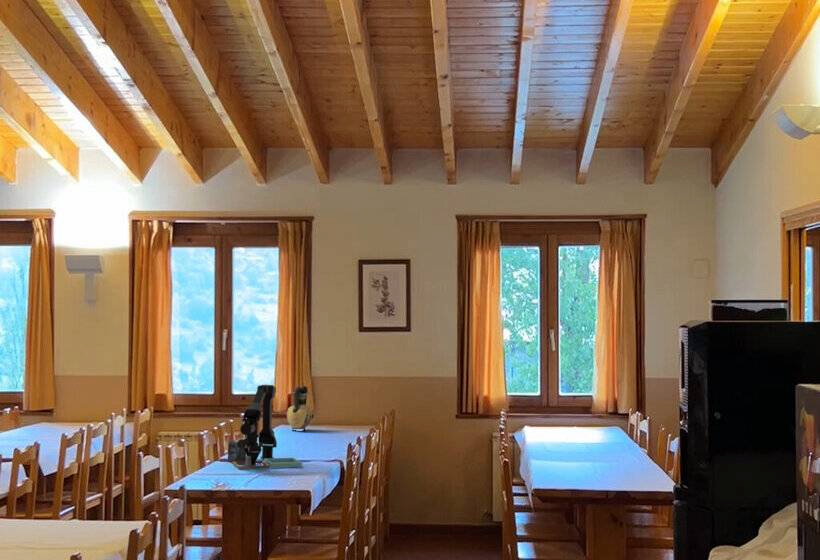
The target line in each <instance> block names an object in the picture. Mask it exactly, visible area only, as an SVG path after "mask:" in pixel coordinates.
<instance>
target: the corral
mask: <svg viewBox="0 0 820 560" xmlns="http://www.w3.org/2000/svg"><path fill="white" fill-rule="evenodd" d="M245 462H246V461H232V462H231V463H232V464H233V465H232V466H234V468H236V469H237V470H253V469H252V468H268V469H270V465H268V464H267V463H265V462H264V460H256V463H262V464H263V465H262V464H258V465H256V466H245Z"/></svg>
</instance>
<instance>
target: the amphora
mask: <svg viewBox="0 0 820 560" xmlns="http://www.w3.org/2000/svg"><path fill="white" fill-rule="evenodd" d="M308 391H309V390H308V387H307V386H306V385H303V386H301V387H300V386H296V388H295V389H294V391H293V392H291V393H292V394H293V395H294V405H291V406H290V407H288V408H287V411H286V419H287V422H288V424H289V425H290V427H291V430H292V429H305V430H306V428H307V427H308V426H309V424H310V423H311V421H312V418H313V410H312V409H311V408H310V407H309V406H308V405H307V399H308V395H309V394H310V392H308Z"/></svg>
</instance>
